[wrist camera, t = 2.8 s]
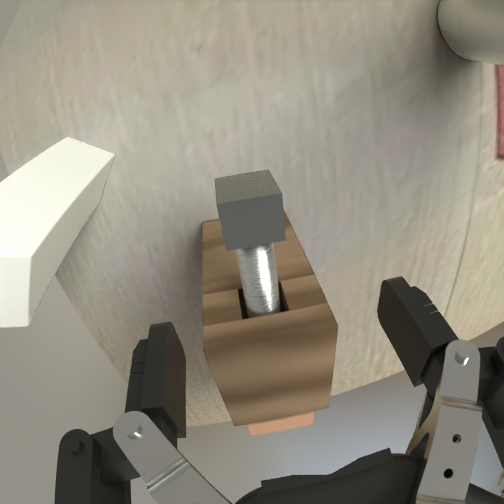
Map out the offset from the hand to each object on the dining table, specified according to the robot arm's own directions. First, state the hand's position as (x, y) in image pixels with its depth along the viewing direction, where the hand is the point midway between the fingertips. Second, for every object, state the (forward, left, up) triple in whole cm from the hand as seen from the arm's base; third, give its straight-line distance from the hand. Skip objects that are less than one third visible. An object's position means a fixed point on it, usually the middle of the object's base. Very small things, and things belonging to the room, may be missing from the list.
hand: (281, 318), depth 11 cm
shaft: (+13, 0, -11) cm, 17 cm away
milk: (-2, -16, -24) cm, 29 cm away
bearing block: (+13, 0, -23) cm, 27 cm away
